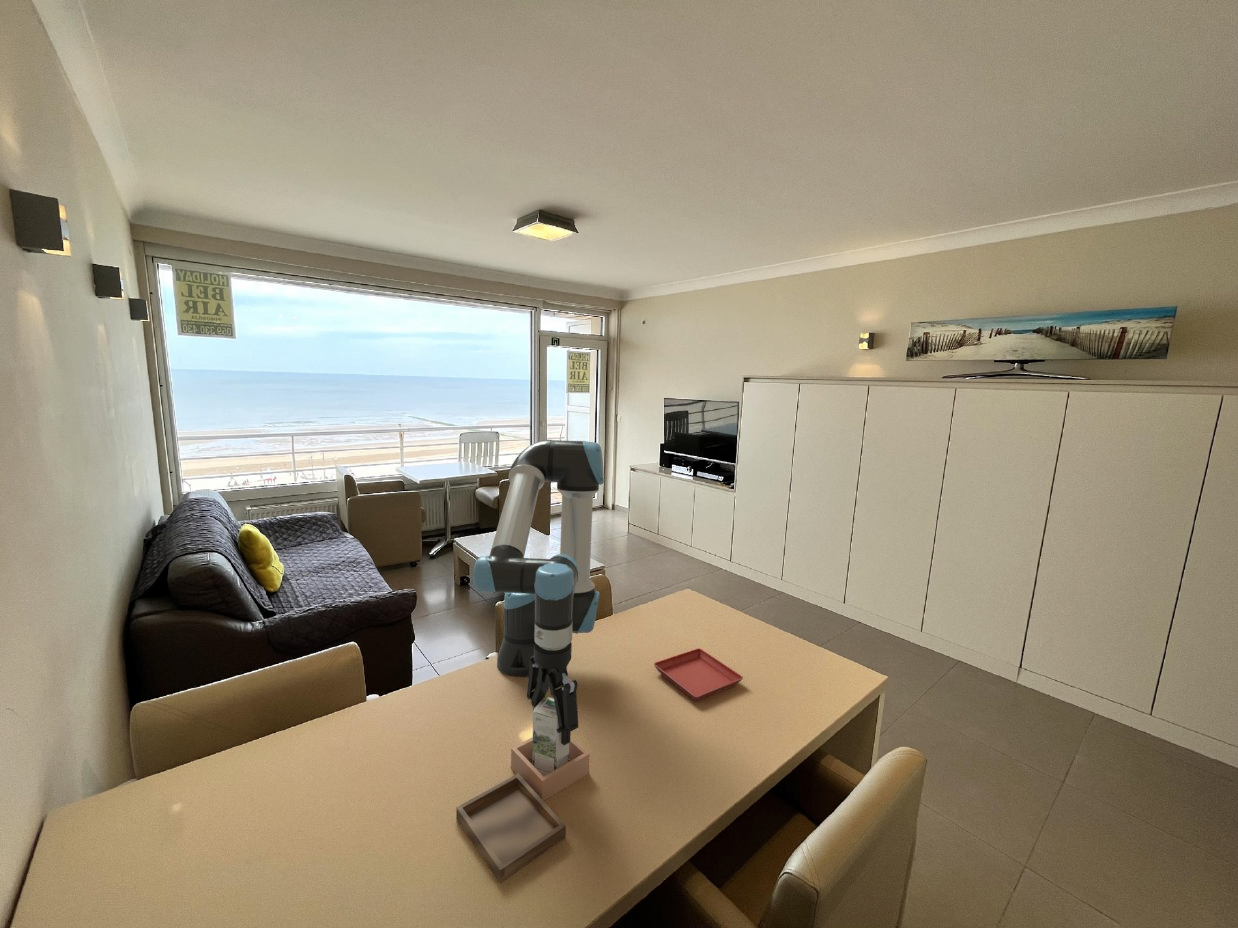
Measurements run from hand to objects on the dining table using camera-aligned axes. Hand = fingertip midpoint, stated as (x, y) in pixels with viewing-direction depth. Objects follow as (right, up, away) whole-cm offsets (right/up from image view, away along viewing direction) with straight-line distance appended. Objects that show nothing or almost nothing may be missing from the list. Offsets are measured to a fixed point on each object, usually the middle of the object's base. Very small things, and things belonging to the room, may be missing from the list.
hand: (550, 744), depth 105 cm
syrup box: (0, -6, +1) cm, 6 cm away
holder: (0, -6, +1) cm, 6 cm away
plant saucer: (+36, -3, +36) cm, 51 cm away
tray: (-5, -8, -13) cm, 16 cm away
